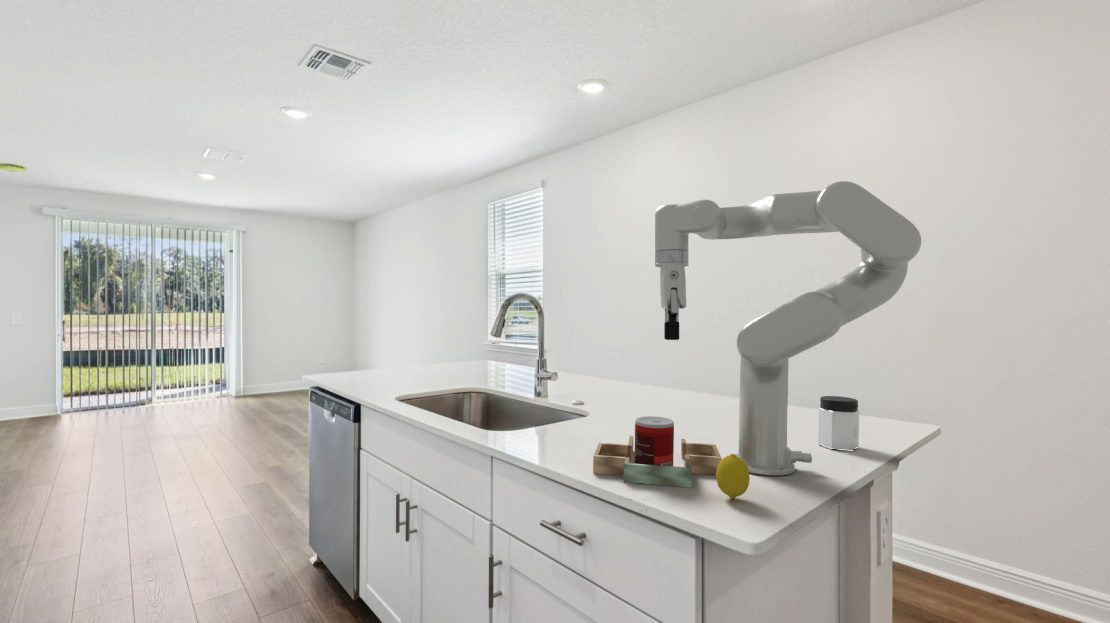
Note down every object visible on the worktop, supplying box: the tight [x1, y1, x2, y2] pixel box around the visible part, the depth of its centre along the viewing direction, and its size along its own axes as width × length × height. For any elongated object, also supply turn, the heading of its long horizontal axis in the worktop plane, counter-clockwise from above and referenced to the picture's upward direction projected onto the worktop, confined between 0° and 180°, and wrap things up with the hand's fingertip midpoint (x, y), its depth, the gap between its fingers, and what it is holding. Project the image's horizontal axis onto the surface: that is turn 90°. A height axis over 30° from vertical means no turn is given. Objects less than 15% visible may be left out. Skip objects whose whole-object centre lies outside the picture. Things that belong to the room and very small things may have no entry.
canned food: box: [634, 415, 675, 466], centre depth 102 cm, size 8×8×11 cm
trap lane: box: [592, 435, 722, 489], centre depth 108 cm, size 25×23×4 cm
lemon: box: [715, 453, 750, 500], centre depth 90 cm, size 6×6×8 cm
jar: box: [817, 395, 860, 451], centre depth 126 cm, size 9×8×12 cm
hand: (671, 339), depth 117 cm, fingers closed
